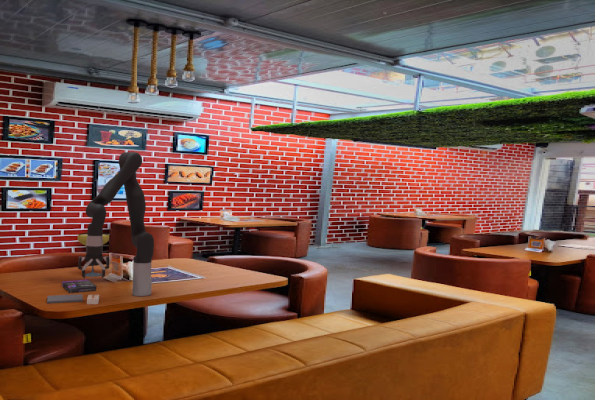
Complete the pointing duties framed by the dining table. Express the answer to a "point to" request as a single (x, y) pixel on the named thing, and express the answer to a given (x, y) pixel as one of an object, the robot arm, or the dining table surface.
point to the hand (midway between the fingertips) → (93, 277)
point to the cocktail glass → (82, 239)
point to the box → (78, 286)
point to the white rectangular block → (93, 299)
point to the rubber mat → (65, 298)
